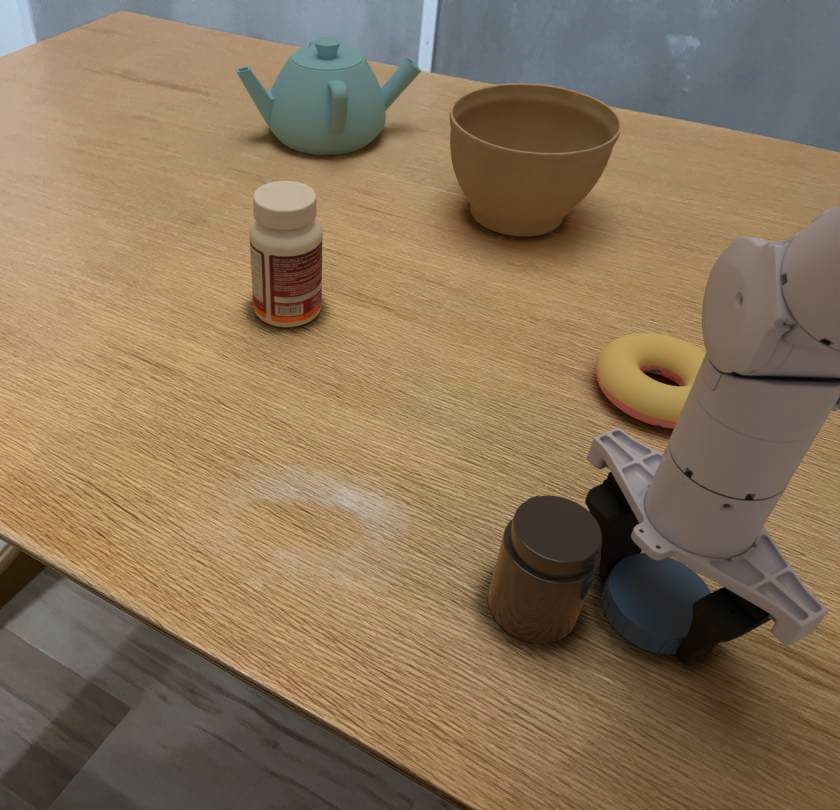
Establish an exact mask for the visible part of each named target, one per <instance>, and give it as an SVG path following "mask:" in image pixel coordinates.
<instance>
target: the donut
mask: <svg viewBox="0 0 840 810" xmlns="http://www.w3.org/2000/svg"><path fill="white" fill-rule="evenodd" d="M705 354H706V350H705V351H704V349H702V348H700V347H698V346H697V345H694V344H692V343H690V342H688V341H686V340H683V339H681V338H678V337H676V336H672V335H671V336H670V335H667V334H663V333H655V332H635V333H629V334H625V335H622V336H620V337H617V338H614V339H613V340H611V341H610V342H609V343H607V344H606V345H605V346H604V348H602V350H601V351H600V353H599V355H598V357H597V359H596V363H595V377H596V381H597V383H598V387H599V388H600V390H601V392H602V393H603V395H604V396H605V397H606V398H607V399H608V400H609V402H610V403H612V404H613V405H614V406H615V407H617V408H618V409H619V410H620V411H621V412H623V413H625V414H626V415H628V416H630V417H631V418H634V419H636V420H638V421H640V422H643V423H645V424H649V425H651V426H655V427H660V428H665V429H670V430H671V429H672V430H674V428H675V425H676V423H677V421H678V418H679V416H680V414H681V411H682V409H683V406H684V404H685V402H686V399H687V397H688V395H689V392H690V390H691V388H692V385H693V383H694V380H695V378H696V375H697V373H698V371H699V368H700V366H701V364H702V361H703V359H704V357H705ZM646 373H650V374H655V375H659V376H661V377H664V378H667V379H669V380H670V381H672V382H674V383H675V384H676V385H671V384H667V383H663V382H660V381H658V380H656V379H654V378H651V377H650V376H648V375H647V374H646ZM677 385H678V386H677Z"/></svg>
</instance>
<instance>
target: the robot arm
mask: <svg viewBox="0 0 840 810" xmlns="http://www.w3.org/2000/svg"><path fill="white" fill-rule="evenodd" d="M701 334H702V341H703V346H704V348H705V352H706V354H705V357H704V359H703V361H702V364H701V366H700V368H699V371H698V373H697V375H696V378H695V380H694V383H693V385H692V388H691V390H690V392H689V395H688V397H687V399H686V402H685V404H684V406H683V409H682V411H681V414H680V416H679V418H678V421H677V423H676V425H675V428H674V429H672V432H671V435H670V437H669V440H668V442H667V444H666V447H665V449H664V451H663V453H662V452H659V451H657V450H655V449H654V448H652V447H650V446H648V445H646V444H645V443H642V442H640V441H638V440H637V439H636V438H634V437H633V436H631V435H630V434H628V433H626V432H625V431H624V430H623V429H622V428H621V427H619V426H618V427H616V428H612V429H611V430H608V431H606V432H603V433H600V434H599V435H596V436H594V437H593V439H592V442H591V445H590V448H589V451H588V452H587V453H588V454H587V456H586V460H587V461H588V463H590V464H591V465H592V466H593V467H594V468H596V470H602V469H603V470H604V469H605V468H607V469H608V470H609V472H608V473H607V477H606V478H605V479H604V480H603V482H602V483H600V484H598V485H596V486H593V487H592V488H590V489H589V490H588V491H587V494H586V496H585V500H584V503H585V505H586V507H587V510H588V511H589V512H590V513H591V514H592V515H593V516H594V517H595V519H596V520H597V522H598V524H599V526H600V529H601V533H602V547H601V551H600V552H601V558H600V563H599V566H598V573H599V574H598V575H599V577H601V578H602V579H603V581H604V582H606V580H607V578H608V576H609V573H610V571H612V569H613V567H614V566H615V565H616V564H617V563H618V562H619V561H620V560H622V559H624V558H625V557H628V556H630V555H634V554H641V553H642V551H643V553H646V554H647V555H648V556H649V557H650V558H652V559H654V560H663V559H665V558H667V557H669V558H672V559H675V560H677V561H679V562H681V563H682V564H684V565H686V566H687V567H689V568H690V569H692V570H693V571H694V572H696V573H699V574H701V575H702V576H704V577H706V578H708V579H709V580H711V581H713V582H714V583H716V584H718V585H720V586H722V587H720V588H717V589H716V590H714V591H711V593H710V594H708V595H706V596H705V597H703V598H701V599H699V600H697V601H695V602H694V604H693V606H692V607H693V618H692V623H691V626H690V629H689V632H688V634H687V636H686V637H685V639H684V640H683V642H682V643H681V645H680V647H679V648H678V650H677V653H676V654H675V657H676V658H677V659H678V660H679V661H680V662H681V664H683V665H686V666H688V665H689V664H690V663H693V662H694V661H697V660H698V659H700V658H702V657H704V656H706V655H707V654H708V653H711V651H712V650H713V649H714V648H715V647H716V646H717V645H718V644H720V643H727V642H730V641H733V640H736V639H738V638H740V637H743V636H745V635H747V634H748V633H750V632H752V631H754V630H755V629H758V628H759V627H761V626H762V625H764V624H766V623H768V622H769V621H772V622H773V623H774V624H773V626H772V627H771V629H770V633H771V634H772V635H773V636H774V637H775V638H776V639H777V640H778V641H779V642H780V643H781V644H782V645H783V646H784V647H786V648H789V647H790V646H792V645H794V644H796V643H798V642H799V641H801V640H802V639H804V638H806V637H808V636H810V635H812V634H813V633H814V632H815V631H816V629H817V628H818V627H819V625H820V624H821V623H822V621H823V620H824V619H825V618H826V616H827V615H828V614H829V612H830V610H829V609H828V608H827V607H826V606H825V605H824V604H823V603H822V602H820V600H818V598H817V597H816V596H815V595H814V594H813V593H812V592H811V591H810V589H808V587H807V586H806V585H805V584H804V582H803V580H801V578H800V576H799V575H798V574H797V572H796V571H795V569H794V568H793V566H792V565H791V563H790V562H789V561H788V560H787V558H786V557H785V555H784V553H783V552H782V550H781V549H780V548H779V546H778V545H777V543H776V542H775V541H774V539H773V537H772V536H771V535H770V533H769V532H768V530H767V529H766V527H765V524H766V523H767V521H768V519H769V518H770V516H771V514H772V513H773V511H774V509H775V508H776V506H777V505H778V502H779V501H780V499H781V497H782V496H783V494H784V492H785V490H786V489H787V487H788V485H789V484H790V482H791V480H792V479H793V477H794V475H795V474H796V472H797V470H798V468H799V467H800V465H801V464H802V462H803V460H804V458H805V456H806V455H807V453H808V451H809V450H810V448H811V446H812V445H813V444H814V441H815V440H816V438H817V436H818V435H819V434H820V433H819V432H820V431H821V430H822V428H823V426H824V424H825V422H827V419H828V417H829V416H830V414H831V413H832V412H837V411H838V410H840V203H839V204H837V205H836V206H834V207H833V208H831V209H825V210H824V211H822V212H821V213H819V214H818V215H817V216H815V217H814V218H813V219H812V220H811V223H810V224H807V226H805V227H803V228H801V229H800V230H799V231H797V232H796V233H794V234H793V235H792V236H790V237H789V238H788V239H786V240H785V241H779V240H777V241H773V240H770V241H769V240H767V239H766V238H763V237H759V236H738V237H735V238H734V239H732V241H731V242H730V243H729V245H728V246H727V247H726V248H725V249H724V250H723V251H722V252H721V253H720V255H719V256H718V257H717V259H716V260H715V263H714V264H713V266H712V268H711V271H710V273H709V275H708V279H707V281H706V285H705V289H704V293H703V298H702V308H701Z"/></svg>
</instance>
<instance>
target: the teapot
mask: <svg viewBox="0 0 840 810" xmlns="http://www.w3.org/2000/svg"><path fill="white" fill-rule="evenodd" d="M235 72H236V74H237V75H238V77H239V79H240V81H241V82H242V84H243V86H244V87H245V89H246V91H247V93H248V94H249V96H250V98H251V100H252V101H253V103H254V105H255V107H256V108H257V110H258V111H259V113H260V115H261V117H262V118H263V120H264V122H265V123H266V125H267V126H268V128H269V130H270V131H271V132H272V134H273V135H274V136H275V137H276V138H277V140H279V141H280V143H282V144H283V145H284V146H285V147H287V148H288V149H291V150H293V151H296V152H299V153H303V154H307V155H315V156H337V155H344V154H350V153H353V152H357V151H360V150H362V149H364V148H365V147H367V146H368V145H370V143H372V142H373V141H374V140H375V139H376V138H377V137H378V136H379V135H380V133H381V132H382V131H383V129H384V128H385V124H386V120H387V119H386V117H387V113H386V111H388V109H389V108H390V107H391V106H392V104H393V103H394V102H395V101H396V100H397V99H398V98H399V97H400V96H401V95H402V94H403V92H404V91H405V90H406V89H407V88H408V87H409V86H410V84H411V83H412V82H414V80H415V79H416V78H417V77H418V76H419V75H420V73H422V69H421V68H420V67H419V66H418V64H416V63H415V62H414V61H413V60H412V59H411V58H409V57H405V59H404V60H403V61H402V63H401V64H399V66H398V68H396V70H395V71H394V72H393V74H392V75H391V76H390V77H389V78H388V79H387V81H386V82H385V83H384V84H383V85H382V87H381V85H380V82H379V81H378V78H377V76H376V74H375V72H374V70H373V68H372V66H371V64H370V63H369V61H368V60H367V59H366V57H365V55H364V54H363V53H362V52H360V51H359V50H358V49H356V48H353V47H350V46H346V45H343V44H341V40H340V39H338V38H336V37H332V36H323V37H319V38H317V39H314V40H312V41H310V42H309V45H307V46H303V47H300V48H298V49H296V50H294V51H293V52H292V53H291V54H290V55H289V56H288V58H287V60H286V61H285V63H284V64H283V66H282V68H281V69H280V71H279V72H278V75H277V76H276V79H275V81H274V83H273V84H272V86H271V89H266V87H265V86H264V85H263V84H262V82H261V81H260V80H259V79H258V77H257V76H256V75H255V73H254V71H253V70H252V68H251V65H247V66H242V67H236V68H235Z"/></svg>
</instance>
